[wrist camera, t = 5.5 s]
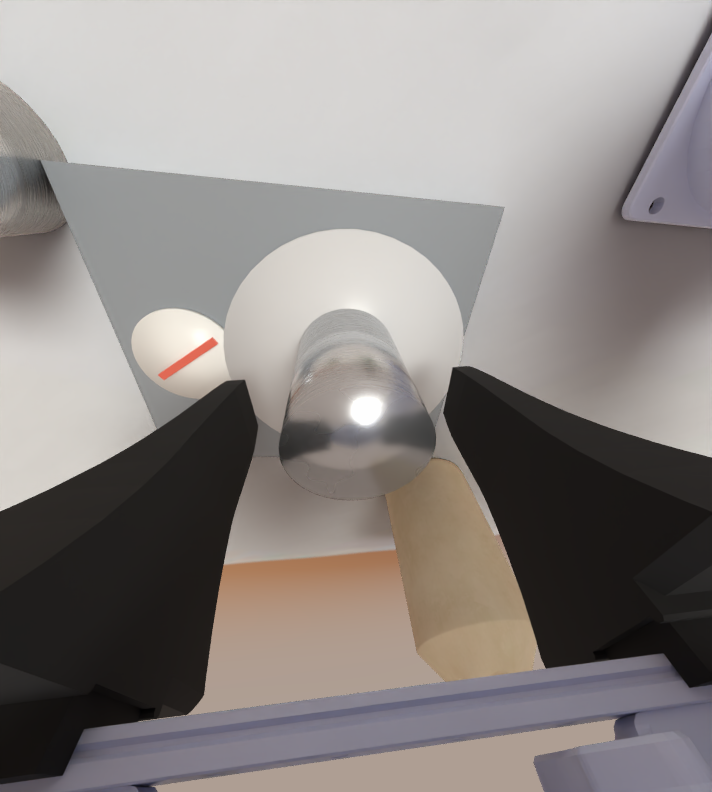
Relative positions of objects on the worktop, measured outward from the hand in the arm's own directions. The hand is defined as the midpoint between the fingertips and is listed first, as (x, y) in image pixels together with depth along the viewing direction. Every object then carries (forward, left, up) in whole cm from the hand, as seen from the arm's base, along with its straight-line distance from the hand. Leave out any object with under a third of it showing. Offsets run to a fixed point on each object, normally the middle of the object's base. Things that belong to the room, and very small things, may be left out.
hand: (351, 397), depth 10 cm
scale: (+2, 0, -4) cm, 4 cm away
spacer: (0, 0, -2) cm, 2 cm away
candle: (-6, +10, -4) cm, 12 cm away
